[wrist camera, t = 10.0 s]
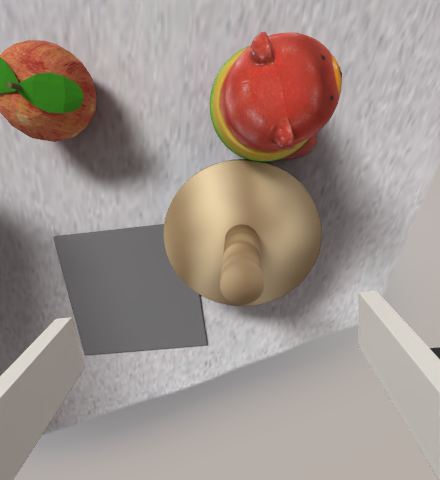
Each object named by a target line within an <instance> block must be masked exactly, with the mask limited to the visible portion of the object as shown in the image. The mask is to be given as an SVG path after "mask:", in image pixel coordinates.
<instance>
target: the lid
mask: <svg viewBox="0 0 440 480" xmlns="http://www.w3.org/2000/svg"><path fill="white" fill-rule="evenodd" d="M321 238H322V228H321V221H320V216H319V213H318V210H317V207H316V205H315V203H314V201H313V200H312V198H311V196H310V194H309V193H308V192H307V190H306V189H305V188H304V186H303V185H302V184H301V183H300V182H299V181H298V180H297V179H296V178H294V177H293V176H292V175H290V174H289V173H288V172H286V171H284V170H283V169H281V168H279V167H277V166H274V165H272V164H269V163H266V162H259V161H252V160H248V159H238V160H229V161H224V162H220V163H217V164H214V165H211V166H209V167H207V168H205V169H203V170H201V171H200V172H198V173H196V174H195V175H194V176H192V177H191V178H190V179H189V180H188V181H187V182H186V183H185V184H184V185H183V186H182V187H181V188H180V190H179V191H178V192H177V194H176V195H175V197H174V198H173V200H172V202H171V204H170V206H169V209H168V212H167V215H166V218H165V224H164V244H165V249H166V253H167V256H168V258H169V261H170V263H171V265H172V267H173V269H174V270H175V272H176V273H177V275H178V276H179V277H180V278H181V280H182V281H183V282H184V283H185V284H186V285H187V286H189V287H190V288H191V289H192V290H194V291H195V292H197V293H198V294H200V295H201V296H203V297H205V298H208V299H210V300H212V301H215V302H218V303H222V304H226V305H233V306H252V305H259V304H263V303H267V302H270V301H273V300H275V299H278V298H280V297H282V296H284V295H285V294H287V293H289V292H290V291H292V290H293V289H294V288H295V287H297V286H298V285H299V284H300V283H301V282H302V281H303V280H304V279H305V278H306V276H307V275H308V274H309V272H310V271H311V269H312V267H313V266H314V264H315V262H316V259H317V257H318V254H319V250H320V246H321Z"/></svg>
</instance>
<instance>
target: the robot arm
mask: <svg viewBox="0 0 440 480" xmlns="http://www.w3.org/2000/svg"><path fill="white" fill-rule="evenodd" d="M359 348H360V350H361V351H362V353H363V355H364V356H365V358H366V360H367V361H368V363H369V365H370V366H371V368H372V370H373V371H374V373H375V375H376V376H377V378H378V380H379V381H380V383H381V385H382V386H383V388H384V390H385V391H386V393H387V395H388V396H389V398H390V400H391V401H392V403H393V405H394V406H395V408H396V410H397V411H398V413H399V415H400V416H401V418H402V420H403V422H404V423H405V425H406V426H407V428H408V430H409V431H410V433H411V435H412V437H413V438H414V440H415V441H416V443H417V445H418V446H419V448H420V450H421V452H422V453H423V455H424V457H425V458H426V460H427V461H428V463H429V465H430V467H431V468H432V470H433V472H434V473H435V475H436V477H437V478H438V480H440V348H429V347H428V346H427V345H426V344H425V343H424V342H423V341H422V340H421V339H420V338H419V337H418V335H417V334H416V333H415V332H414V331H413V330H412V329H411V328H410V327H409V326H408V325H407V324H406V322H405V321H404V320H403V319H402V318H401V317H400V316H399V315H398V314H397V313H396V312H395V311H394V310H393V308H392V307H391V306H390V305H389V304H388V303H387V302H386V301H385V300H384V299H383V298H382V297H381V296H380V294H379V293H378V292H377V291H371V292H360V293H359ZM84 368H85V367H84V363H83V359H82V355H81V351H80V347H79V343H78V340H77V336H76V332H75V328H74V324H73V320H72V317H70V318H59V319H55V320H54V321H53V322H52V323H51V324H50V325H49V326H48V327H47V329H46V330H45V331H44V332H43V333H42V334H41V335H40V336H39V337H38V338H37V339H36V340H35V341H34V342H33V343H32V344H31V345H30V346H29V347H28V348H27V349H26V350H25V351H24V352H23V353H22V354H21V355H20V356H19V357H18V359H17V360H16V361H15V362H14V363H13V364H12V365H11V366H10V367H9V368H8V369H7V370H6V371H5V372H4V373H3V374H2V375H1V376H0V480H14V478H15V476H16V475H17V473H18V472H19V470H20V469H21V467H22V465H23V464H24V462H25V461H26V459H27V457H28V456H29V454H30V453H31V451H32V450H33V448H34V447H35V445H36V443H37V442H38V440H39V439H40V437H41V436H42V434H43V432H44V431H45V429H46V428H47V426H48V425H49V423H50V422H51V420H52V418H53V417H54V415H55V414H56V412H57V411H58V409H59V407H60V406H61V404H62V403H63V401H64V400H65V398H66V396H67V395H68V393H69V392H70V390H71V389H72V387H73V385H74V384H75V382H76V381H77V379H78V378H79V376H80V374H81V373H82V371H83V370H84Z"/></svg>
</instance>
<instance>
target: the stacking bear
mask: <svg viewBox="0 0 440 480" xmlns="http://www.w3.org/2000/svg"><path fill="white" fill-rule="evenodd" d="M341 85H342V73H341V71H340V67H339V66H338V63H337V61H336V59H335V58H334V56H333V55H332V54H331V53H330V52H329V50H328V49H327V48H326V47H325V46H324V45H323V44H321V43H320V42H319V41H317V40H316V39H314V38H311V37H309V36H306V35H303V34H299V33H279V34H274V35H271V36H267V34H266V32H262V33H260V34H259V35H257V36H256V37H255V38H254V40H253V42H252V45H251V46H249V47H246V48H244V49H242V50H241V51H239V52H237V53H236V54H235V55H233V56H232V57H231V58H230V59H229V60H228V61H227V62H226V63H225V64H224V66H223V67H222V68H221V70H220V72H219V73H218V75H217V77H216V79H215V82H214V84H213V87H212V91H211V97H210V114H211V119H212V123H213V126H214V129H215V131H216V133H217V135H218V136H219V138H220V139H221V141H222V142H223V143H224V144H225V145H226V147H227V148H229V149H230V150H231V151H232V152H234V153H235V154H237V155H238V156H240V157H242V158H245V159H248V160H252V161H259V162H268V161H275V160H288V159H294V158H298V157H302V156H305V155H307V154H308V153H310V152H311V149H312V147H313V146H314V145H315V144H316V143H317V137H316V133H317V132H318V131H319V130H320V129H322V128H323V127H324V125H325V124H326V123H327V122H328V121H329V119H330V118H331V116H332V114H333V113H334V111H335V109H336V106H337V104H338V101H339V97H340V93H341Z"/></svg>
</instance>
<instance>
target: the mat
mask: <svg viewBox="0 0 440 480" xmlns="http://www.w3.org/2000/svg"><path fill="white" fill-rule="evenodd" d="M53 238H54V242H55V245H56V249H57V253H58V256H59V260H60V264H61V268H62V271H63V275H64V279H65V283H66V286H67V290H68V294H69V298H70V301H71V305H72V309H73V313H74V316H75V320H76V324H77V328H78V331H79V335H80V339H81V343H82V346H83V350H84V354H85V355H92V354H104V353H116V352H128V351H140V350H152V349H163V348H175V347H187V346H199V345H207V340H206V334H205V327H204V321H203V314H202V308H201V301H200V295H199V294H198V293H197V292H195V291H194V290H192V289H191V288H190V287H189V286H187V285H186V284H185V283H184V282H183V281H182V280H181V278H180V277H179V276H178V275H177V273H176V272H175V270H174V269H173V267H172V265H171V263H170V261H169V258H168V256H167V253H166V249H165V244H164V224H161V225H152V226H143V227H134V228H126V229H117V230H108V231H99V232H90V233H81V234H72V235H63V236H55V237H53Z"/></svg>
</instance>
